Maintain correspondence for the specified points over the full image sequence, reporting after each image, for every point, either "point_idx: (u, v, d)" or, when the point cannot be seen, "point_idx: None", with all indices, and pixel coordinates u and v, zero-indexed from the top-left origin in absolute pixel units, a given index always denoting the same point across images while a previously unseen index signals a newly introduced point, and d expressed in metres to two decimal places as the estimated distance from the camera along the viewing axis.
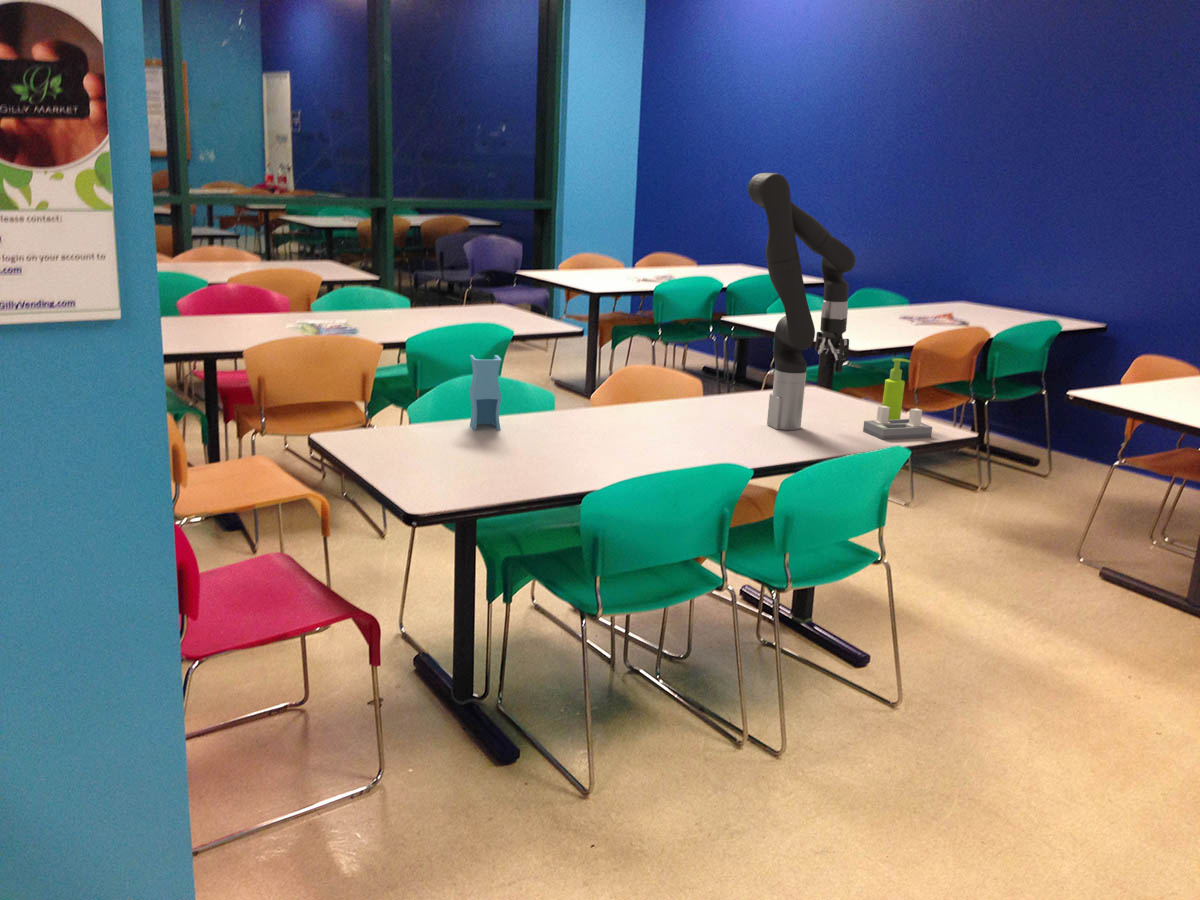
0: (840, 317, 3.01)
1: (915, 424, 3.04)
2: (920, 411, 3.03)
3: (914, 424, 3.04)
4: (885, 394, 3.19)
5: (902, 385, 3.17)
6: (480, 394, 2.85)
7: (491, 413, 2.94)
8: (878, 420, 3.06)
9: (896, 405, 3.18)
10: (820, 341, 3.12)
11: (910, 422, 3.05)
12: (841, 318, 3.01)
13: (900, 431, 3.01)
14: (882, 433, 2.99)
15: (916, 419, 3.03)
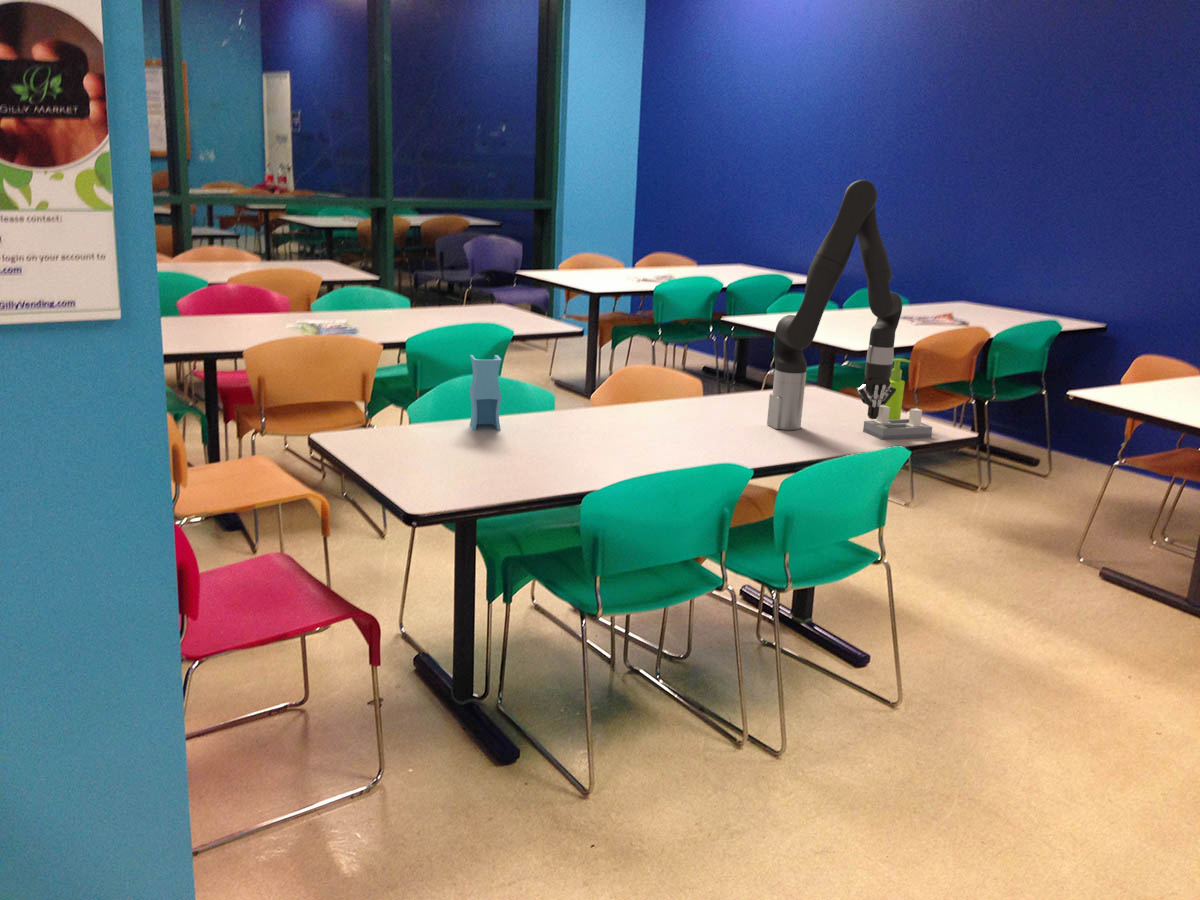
0: None
1: (915, 424, 3.04)
2: (920, 411, 3.03)
3: (914, 424, 3.04)
4: None
5: (902, 385, 3.17)
6: (480, 394, 2.85)
7: (491, 413, 2.94)
8: (878, 420, 3.06)
9: (896, 405, 3.18)
10: None
11: (910, 422, 3.05)
12: None
13: (900, 431, 3.01)
14: (882, 433, 2.99)
15: (916, 419, 3.03)
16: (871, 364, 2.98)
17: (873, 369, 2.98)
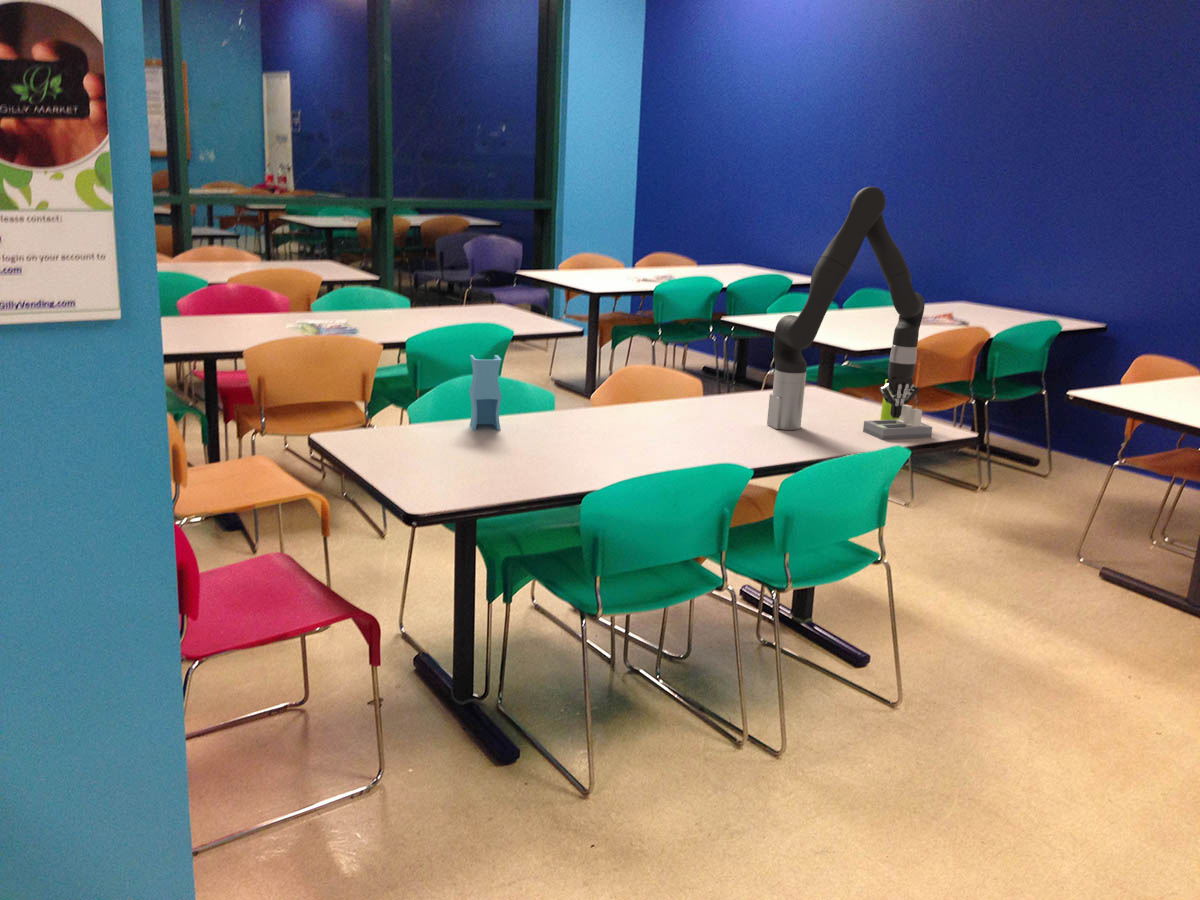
0: None
1: (915, 424, 3.04)
2: (920, 411, 3.03)
3: (914, 424, 3.04)
4: None
5: None
6: (480, 394, 2.85)
7: (491, 413, 2.94)
8: (901, 419, 3.09)
9: None
10: None
11: (910, 422, 3.05)
12: None
13: (900, 431, 3.01)
14: (882, 433, 2.99)
15: (916, 419, 3.03)
16: (895, 363, 3.01)
17: (897, 368, 3.01)
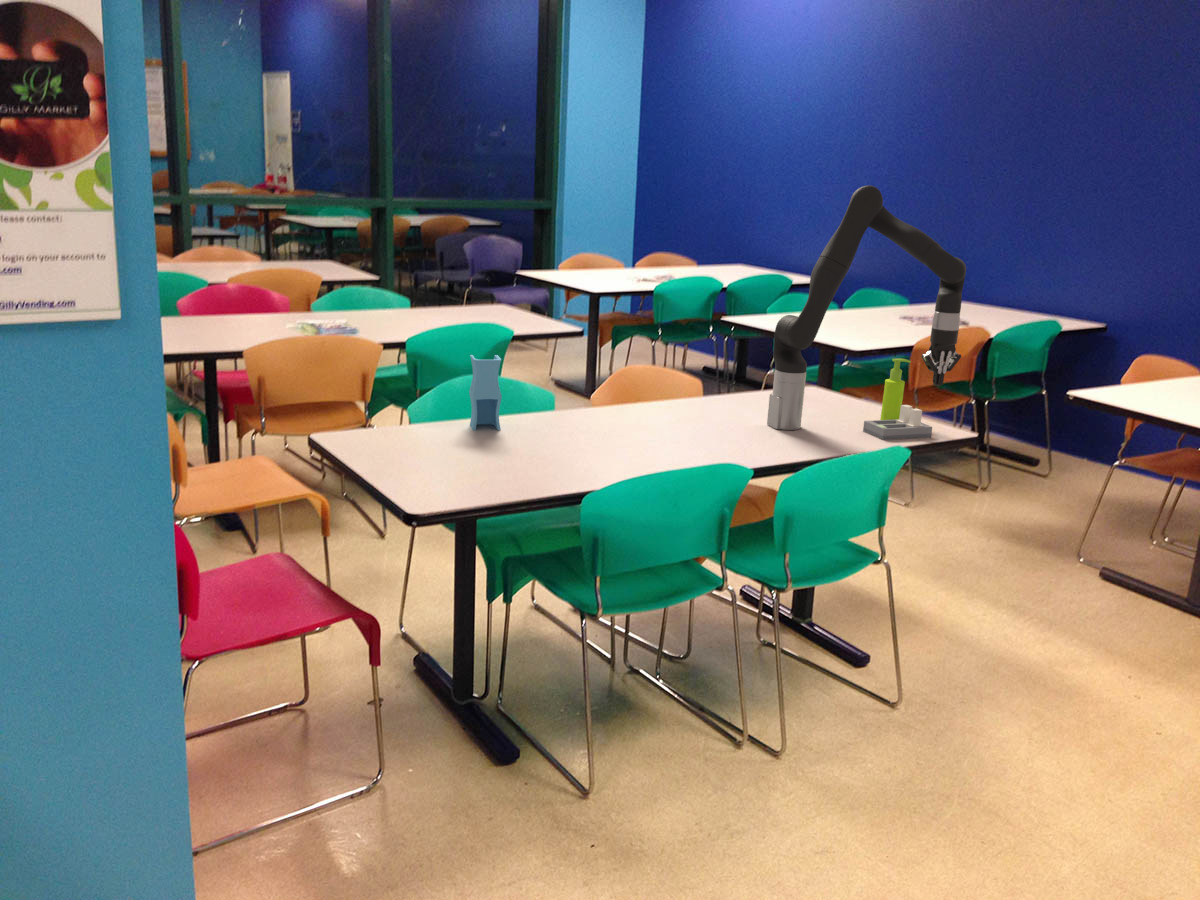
0: None
1: (915, 424, 3.04)
2: (920, 411, 3.03)
3: (914, 424, 3.04)
4: (885, 394, 3.19)
5: (902, 385, 3.17)
6: (480, 394, 2.85)
7: (491, 413, 2.94)
8: (901, 419, 3.09)
9: (896, 405, 3.18)
10: None
11: (910, 422, 3.05)
12: None
13: (900, 431, 3.01)
14: (882, 433, 2.99)
15: (916, 419, 3.03)
16: (937, 330, 2.97)
17: (939, 335, 2.97)
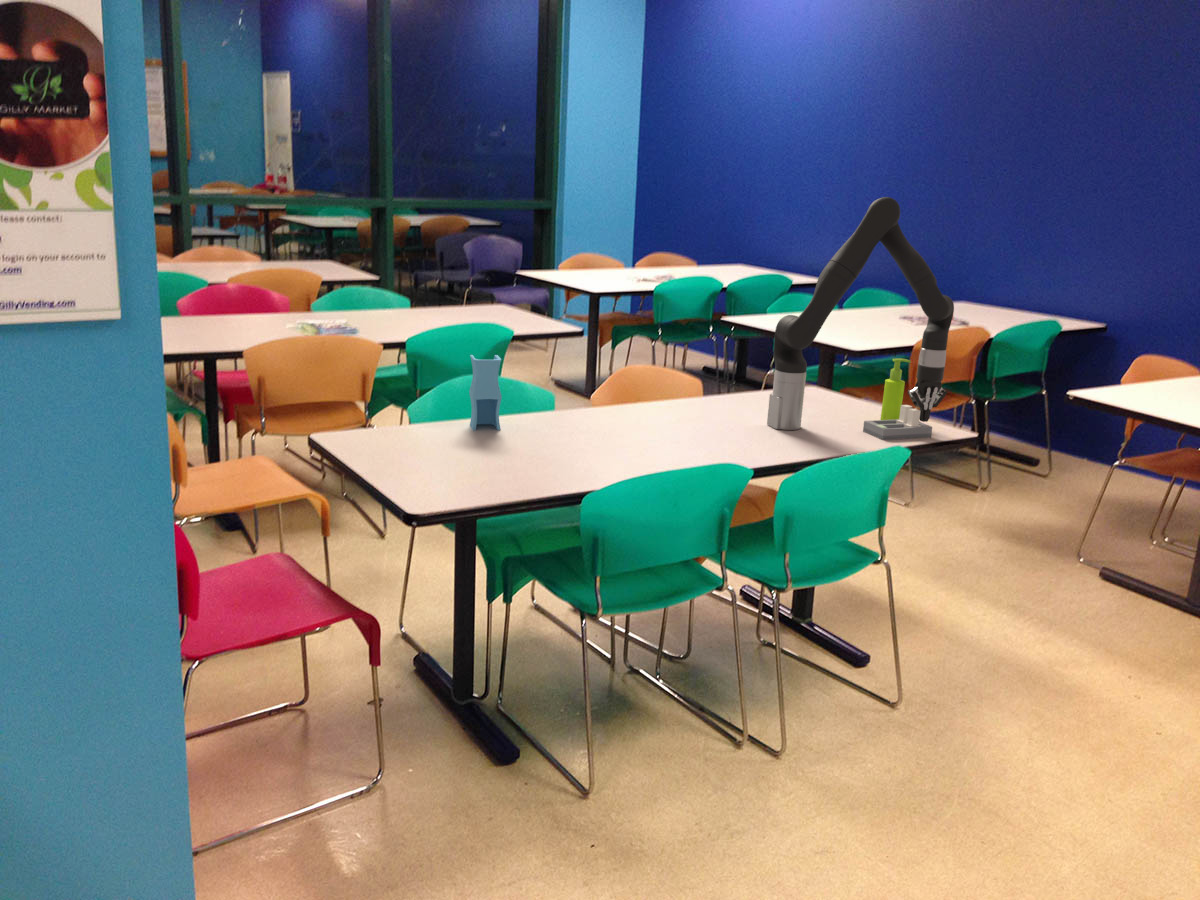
0: None
1: (913, 424, 3.03)
2: (918, 411, 3.03)
3: (912, 424, 3.03)
4: (885, 394, 3.19)
5: (902, 385, 3.17)
6: (480, 394, 2.85)
7: (491, 413, 2.94)
8: (901, 419, 3.09)
9: (896, 405, 3.18)
10: None
11: (908, 422, 3.05)
12: None
13: (900, 431, 3.01)
14: (882, 433, 2.99)
15: (914, 419, 3.03)
16: (924, 367, 2.99)
17: (926, 372, 2.99)
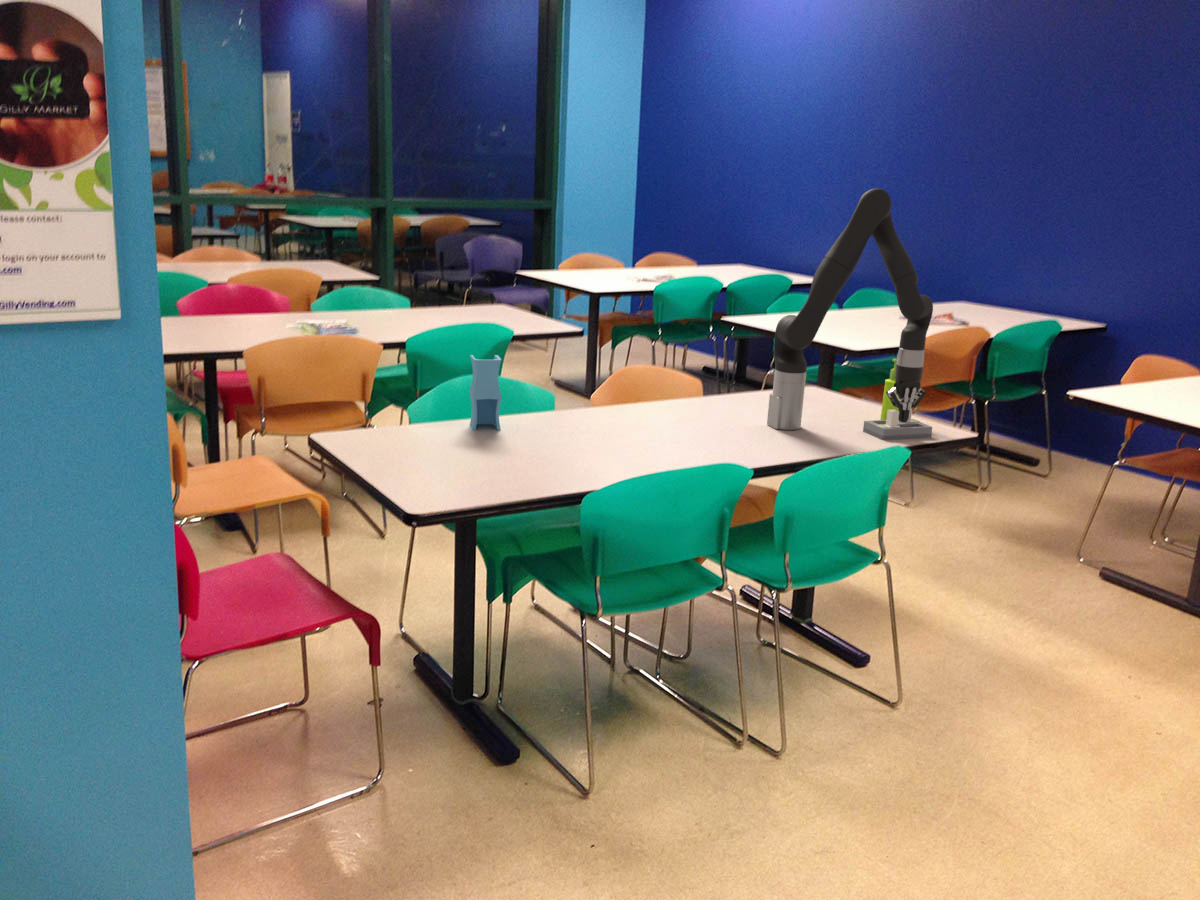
0: None
1: (892, 425, 3.01)
2: (897, 412, 3.00)
3: (891, 425, 3.01)
4: (885, 394, 3.19)
5: None
6: (480, 394, 2.85)
7: (491, 413, 2.94)
8: None
9: None
10: None
11: (887, 423, 3.02)
12: None
13: (900, 431, 3.01)
14: (882, 433, 2.99)
15: (893, 420, 3.01)
16: (902, 367, 2.97)
17: (904, 372, 2.96)
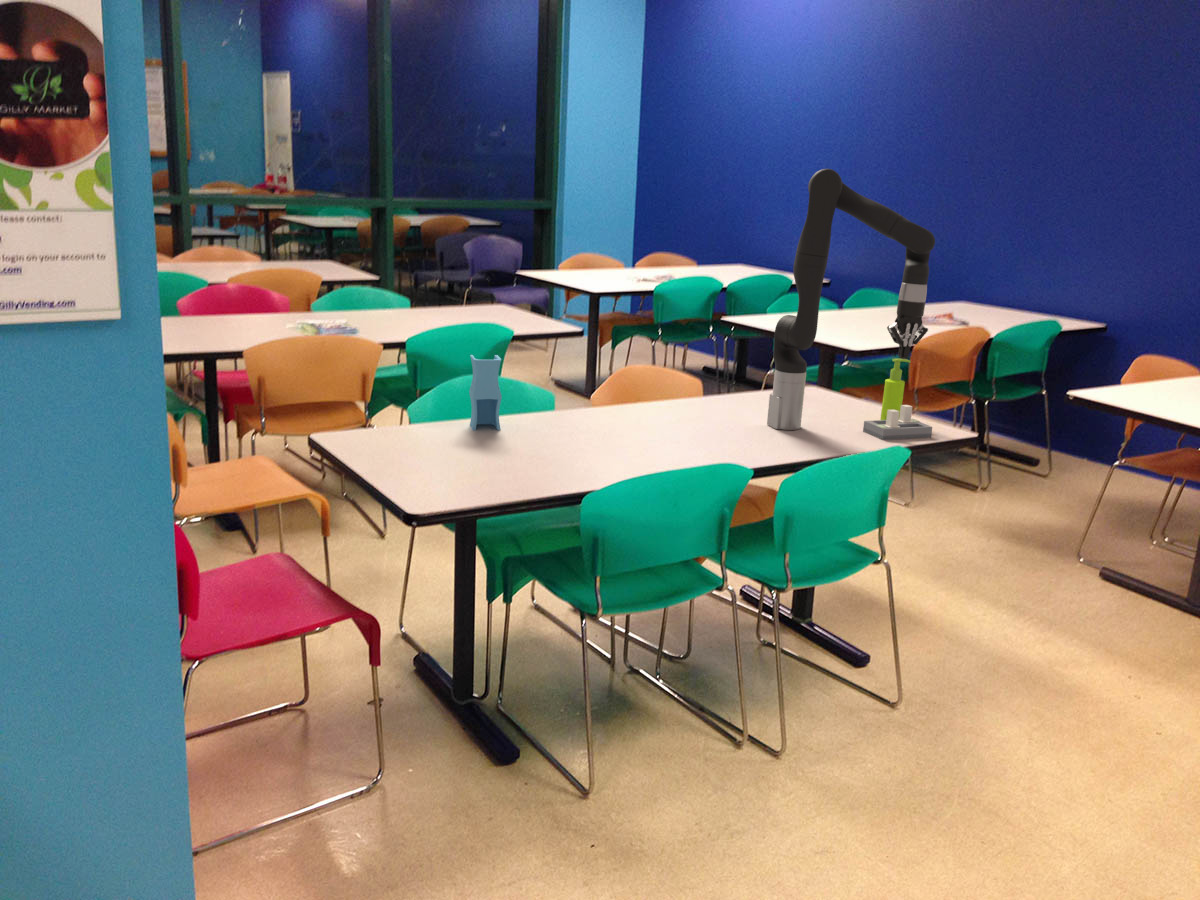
0: None
1: (892, 425, 3.01)
2: (897, 412, 3.00)
3: (891, 425, 3.01)
4: (885, 394, 3.19)
5: (902, 385, 3.17)
6: (480, 394, 2.85)
7: (491, 413, 2.94)
8: (901, 419, 3.09)
9: (896, 405, 3.18)
10: None
11: (887, 423, 3.02)
12: None
13: (900, 431, 3.01)
14: (882, 433, 2.99)
15: (893, 420, 3.01)
16: (904, 301, 2.94)
17: (905, 306, 2.94)
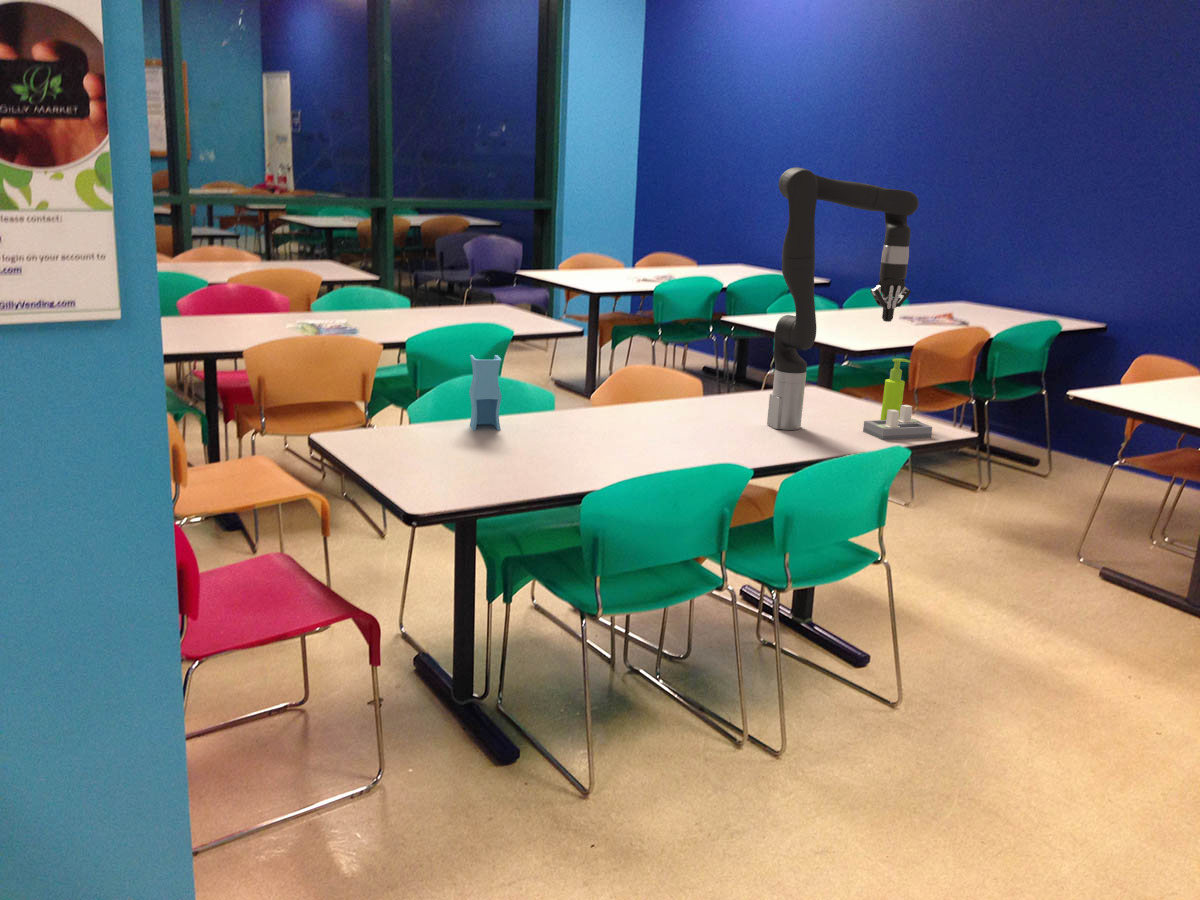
0: None
1: (892, 425, 3.01)
2: (897, 412, 3.00)
3: (891, 425, 3.01)
4: (885, 394, 3.19)
5: (902, 385, 3.17)
6: (480, 394, 2.85)
7: (491, 413, 2.94)
8: (901, 419, 3.09)
9: (896, 405, 3.18)
10: None
11: (887, 423, 3.02)
12: None
13: (900, 431, 3.01)
14: (882, 433, 2.99)
15: (893, 420, 3.01)
16: (886, 264, 2.95)
17: (888, 269, 2.95)
